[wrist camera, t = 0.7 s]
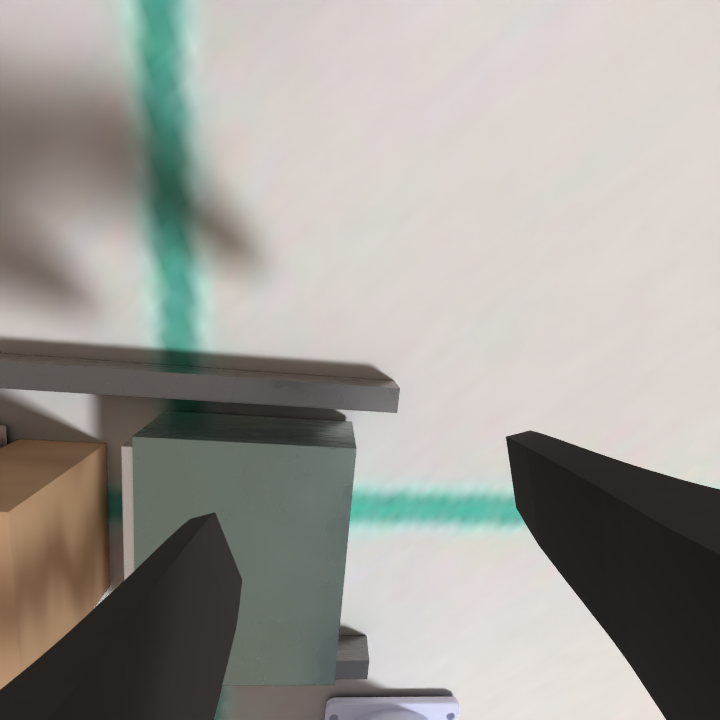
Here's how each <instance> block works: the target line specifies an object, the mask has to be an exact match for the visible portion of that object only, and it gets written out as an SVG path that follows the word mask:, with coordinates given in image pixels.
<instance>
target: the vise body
mask: <svg viewBox="0 0 720 720" xmlns="http://www.w3.org/2000/svg"><path fill="white" fill-rule="evenodd" d="M0 388H6V389H22V390H38V391H54V392H70V393H86V394H102V395H118V396H134V397H150V398H166V399H182V400H198V401H214V402H230V403H246V404H262V405H278V406H294V407H310V408H326V409H343V410H359V411H375V412H391V413H397V408H398V400H399V391H400V388H399V387H398V385H397V384H396V382H395V381H390V380H376V379H361V378H347V377H333V376H319V375H304V374H290V373H276V372H262V371H248V370H233V369H219V368H205V367H191V366H176V365H162V364H148V363H134V362H119V361H105V360H91V359H77V358H63V357H48V356H34V355H20V354H6V353H0ZM6 445H7V435H6V426H2V425H0V448H2V447H4V446H6ZM368 666H369V655H368V646H367V636H339V638H338V648H337V659H336V670H335V679H367V675H368Z"/></svg>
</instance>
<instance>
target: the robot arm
mask: <svg viewBox="0 0 720 720" xmlns="http://www.w3.org/2000/svg"><path fill="white" fill-rule="evenodd" d="M506 440H507V447H508V454H509V461H510V467H511V474H512V481H513V488H514V495H515V502H516V508H517V510H518V511H519V513H520V515H521V516H522V518H523V520H524V522H525V523H526V525H527V527H528V528H529V530H530V532H531V533H532V535H533V536H534V538H535V540H536V541H537V543H538V545H539V546H540V547H541V549H542V550H543V551H544V553H545V554H546V555H547V557H548V558H549V559H550V561H551V562H552V563H553V564H554V566H555V567H556V568H557V570H558V571H559V572H560V574H561V575H562V576H563V577H564V579H565V580H566V581H567V583H568V584H569V585H570V586H571V588H572V589H573V590H574V592H575V593H576V594H577V595H578V597H579V598H580V599H581V600H582V602H583V603H584V604H585V606H586V607H587V608H588V609H589V611H590V612H591V613H592V615H593V616H594V617H595V618H596V620H597V621H598V622H599V624H600V625H601V626H602V627H603V629H604V630H605V631H606V633H607V634H608V635H609V636H610V638H611V639H612V640H613V642H614V643H615V644H616V646H617V647H618V649H619V650H620V651H621V653H622V654H623V655H624V657H625V658H626V660H627V661H628V662H629V664H630V665H631V667H632V668H633V670H634V671H635V673H636V674H637V676H638V677H639V679H640V680H641V682H642V683H643V685H644V686H645V688H646V689H647V691H648V692H649V694H650V696H651V697H652V699H653V700H654V702H655V703H656V705H657V706H658V708H659V709H660V711H661V712H662V714H663V715H664V717H665V718H666V720H720V489H715V488H711V487H707V486H703V485H699V484H695V483H692V482H688V481H684V480H680V479H677V478H674V477H670V476H667V475H664V474H660V473H657V472H653V471H650V470H647V469H643V468H640V467H637V466H634V465H631V464H628V463H625V462H622V461H619V460H616V459H613V458H610V457H607V456H604V455H601V454H598V453H595V452H592V451H590V450H587V449H584V448H581V447H578V446H576V445H573V444H570V443H567V442H564V441H561V440H559V439H556V438H553V437H550V436H547V435H544V434H541V433H538V432H534V431H527V432H523V433H519V434H515V435H511V436H507V437H506ZM241 587H242V578H241V575H240V573H239V570H238V568H237V565H236V563H235V560H234V558H233V555H232V553H231V550H230V548H229V545H228V543H227V540H226V538H225V535H224V533H223V530H222V528H221V525H220V523H219V520H218V518H217V515H216V513H215V512H214V513H210V514H207V515H203V516H199V517H195V518H191V519H189V520H188V521H187V522H186V523H184V524H183V525H182V526H181V527H180V528H179V529H177V530H176V531H175V532H174V533H173V534H172V535H171V536H170V537H169V538H168V539H167V540H166V541H165V542H164V543H163V544H162V545H160V546H159V547H158V548H157V549H156V550H155V551H154V552H153V553H152V554H151V555H150V556H149V557H148V558H147V559H146V560H145V561H144V562H143V563H142V564H141V565H140V566H139V567H138V568H137V569H136V570H135V571H134V572H133V573H132V574H130V575H129V576H128V577H127V578H126V579H125V580H124V581H123V582H122V583H121V584H120V585H119V586H118V587H117V588H116V589H115V590H114V591H113V592H112V593H111V594H110V595H109V596H107V597H106V598H105V599H104V600H103V601H102V602H101V603H100V604H99V605H98V606H96V607H95V608H94V609H93V610H92V611H91V612H90V613H89V614H88V615H87V616H86V617H84V618H83V619H82V620H81V621H80V622H79V623H78V624H77V625H76V626H75V627H74V628H72V629H71V630H70V631H69V632H68V633H67V634H66V635H65V636H64V637H63V638H61V639H60V640H59V641H58V642H57V643H56V644H55V645H53V646H52V647H51V648H50V649H49V650H48V651H46V652H45V653H44V654H43V655H42V656H41V657H39V658H38V659H37V660H36V661H35V662H34V663H32V664H31V665H30V666H29V667H27V668H26V669H25V670H24V671H23V672H21V673H20V674H19V675H18V676H16V677H15V678H14V679H13V680H12V681H10V682H9V683H8V684H7V685H5V686H4V687H3V688H2V689H1V690H0V720H214V716H215V712H216V708H217V704H218V700H219V696H220V692H221V688H222V684H223V680H224V676H225V672H226V668H227V664H228V660H229V656H230V652H231V648H232V644H233V639H234V635H235V631H236V627H237V620H238V613H239V605H240V596H241ZM459 709H460V708H459V703H458V700H457V699H456V698H455V697H451V696H448V697H335V698H331V699H329V700H328V701H327V703H326V710H325V720H458V715H459Z"/></svg>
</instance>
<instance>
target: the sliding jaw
mask: <svg viewBox="0 0 720 720" xmlns="http://www.w3.org/2000/svg"><path fill="white" fill-rule="evenodd" d="M121 456H122V501H123V547H124V580H125V579H126V578H127V577H128V576H129V575H130V574H132V573H133V572H134V571H135V570H136V569H137V568H138V567H139V566H140V565H141V564H142V563H143V562H144V561H145V560H146V559H147V558H148V557H149V556H150V555H151V554H152V553H153V552H154V551H155V550H156V549H157V548H158V547H159V546H160V545H162V544H163V543H164V542H165V541H166V540H167V539H168V538H169V537H170V536H171V535H172V534H173V533H174V532H175V531H176V530H177V529H179V528H180V527H181V526H182V525H183V524H184V523H186V522H187V521H188V520H189V519H191V518H195V517H199V516H203V515H207V514H210V513H214V512H215V513H216V515H217V518H218V520H219V523H220V525H221V528H222V530H223V533H224V535H225V538H226V540H227V543H228V545H229V548H230V550H231V553H232V555H233V558H234V560H235V563H236V565H237V568H238V570H239V573H240V575H241V578H242V587H241V596H240V605H239V613H238V620H237V627H236V631H235V635H234V639H233V644H232V648H231V652H230V656H229V660H228V664H227V668H226V672H225V676H224V680H223V684H222V685H334V680H335V670H336V659H337V648H338V638H339V627H340V617H341V606H342V595H343V585H344V574H345V564H346V553H347V542H348V532H349V521H350V511H351V500H352V489H353V479H354V468H355V458H356V444H355V438H354V432H353V426H352V422H347V421H331V420H314V419H297V418H280V417H263V416H247V415H230V414H213V413H196V412H179V411H165V412H164V413H163V414H161V415H160V416H159V417H158V418H156V419H155V420H154V421H152V422H151V423H150V424H148V425H147V426H146V427H144V428H143V429H142V430H140V431H139V432H138V433H137V434H135V435H134V436H133V437H132V439H130V440H129V441H128V442H126V443H125V444H124V445H122V446H121Z"/></svg>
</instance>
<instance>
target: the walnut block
mask: <svg viewBox="0 0 720 720" xmlns="http://www.w3.org/2000/svg"><path fill="white" fill-rule="evenodd" d="M109 586H110V558H109V524H108V490H107V456H106V443H87V442H67V441H48V440H28V439H18V440H16V441H14V442H12V443H10V444H8V445H6V446H4V447H2V448H0V690H1V689H2V688H3V687H4V686H5V685H7V684H8V683H9V682H10V681H12V680H13V679H14V678H15V677H16V676H18V675H19V674H20V673H21V672H23V671H24V670H25V669H26V668H27V667H29V666H30V665H31V664H32V663H34V662H35V661H36V660H37V659H38V658H39V657H41V656H42V655H43V654H44V653H45V652H46V651H48V650H49V649H50V648H51V647H52V646H53V645H55V644H56V643H57V642H58V641H59V640H60V639H61V638H63V637H64V636H65V635H66V634H67V633H68V632H69V631H70V630H71V629H72V628H74V627H75V626H76V625H77V624H78V623H79V622H80V621H81V620H82V619H83V618H84V617H86V616H87V615H88V614H89V613H90V612H91V611H92V610H93V608H94V607H95V605H96V604H97V603H98V601H99V600H100V599H101V597H102V596H103V595H104V593H105V592H106V590H107V589H108V588H109Z"/></svg>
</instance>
